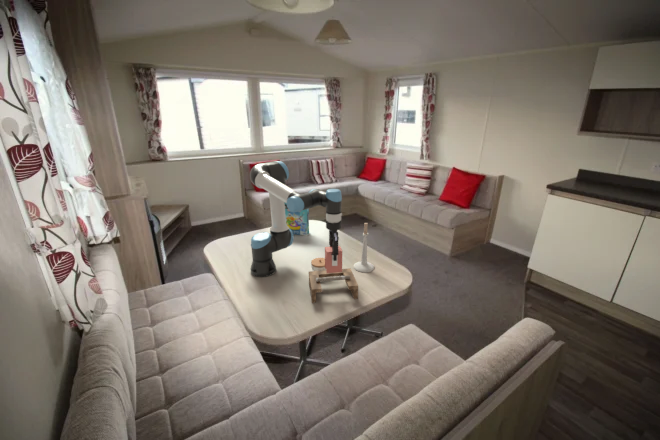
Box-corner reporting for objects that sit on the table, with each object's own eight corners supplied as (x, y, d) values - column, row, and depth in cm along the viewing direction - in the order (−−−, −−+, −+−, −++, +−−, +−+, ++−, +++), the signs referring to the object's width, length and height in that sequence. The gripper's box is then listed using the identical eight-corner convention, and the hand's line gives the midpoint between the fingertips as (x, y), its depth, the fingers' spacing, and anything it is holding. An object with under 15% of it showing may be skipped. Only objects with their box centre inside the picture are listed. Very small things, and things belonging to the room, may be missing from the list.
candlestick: (378, 268, 189) (381, 224, 179) (361, 274, 183) (363, 228, 173) (365, 260, 200) (368, 217, 189) (349, 265, 194) (351, 221, 183)
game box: (282, 233, 241) (280, 201, 231) (284, 230, 246) (283, 198, 237) (307, 235, 237) (306, 202, 228) (309, 232, 243) (308, 200, 234)
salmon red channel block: (326, 273, 156) (326, 252, 152) (325, 267, 162) (324, 247, 158) (342, 271, 157) (342, 250, 153) (339, 266, 163) (340, 245, 159)
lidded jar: (316, 279, 178) (315, 265, 174) (308, 271, 187) (308, 257, 183) (332, 275, 182) (332, 261, 179) (324, 267, 191) (324, 253, 188)
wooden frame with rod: (312, 302, 156) (311, 286, 153) (308, 283, 173) (308, 268, 170) (357, 298, 160) (358, 282, 157) (350, 280, 177) (350, 265, 173)
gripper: (345, 227, 142) (344, 270, 150) (337, 213, 159) (337, 253, 167) (329, 228, 141) (329, 272, 149) (323, 214, 158) (323, 254, 166)
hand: (333, 262), depth 158 cm, fingers closed on salmon red channel block, 6 cm apart
